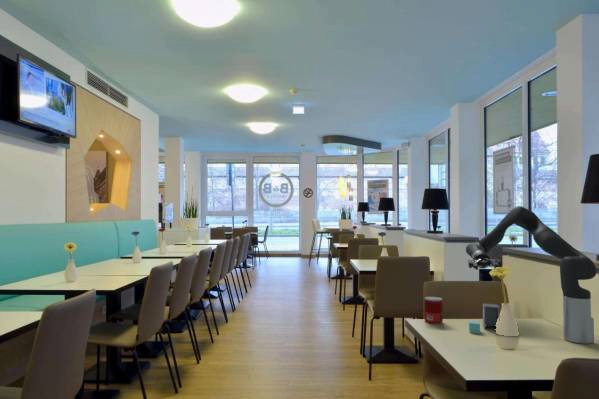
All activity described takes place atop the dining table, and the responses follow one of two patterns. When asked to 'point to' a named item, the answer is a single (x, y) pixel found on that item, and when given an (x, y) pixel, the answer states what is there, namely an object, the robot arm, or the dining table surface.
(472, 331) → the teal block
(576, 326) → the robot arm
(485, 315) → the tall grey pillar block
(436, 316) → the canned food
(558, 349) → the dining table surface
